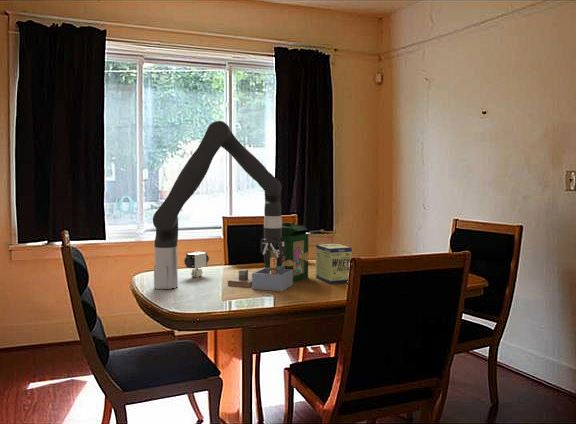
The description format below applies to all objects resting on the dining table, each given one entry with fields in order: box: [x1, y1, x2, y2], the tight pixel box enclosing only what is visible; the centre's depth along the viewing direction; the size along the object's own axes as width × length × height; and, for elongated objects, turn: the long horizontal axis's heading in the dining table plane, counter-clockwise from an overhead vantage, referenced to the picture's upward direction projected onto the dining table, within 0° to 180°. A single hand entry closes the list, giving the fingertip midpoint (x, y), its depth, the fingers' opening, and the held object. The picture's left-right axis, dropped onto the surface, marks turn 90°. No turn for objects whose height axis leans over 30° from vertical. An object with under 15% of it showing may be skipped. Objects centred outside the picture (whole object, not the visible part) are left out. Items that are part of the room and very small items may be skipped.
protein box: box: [315, 243, 353, 285], centre depth 251 cm, size 10×16×16 cm
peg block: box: [270, 258, 281, 275], centre depth 237 cm, size 6×6×12 cm
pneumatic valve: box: [183, 250, 210, 278], centre depth 258 cm, size 6×12×12 cm, turn 146°
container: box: [264, 222, 309, 283], centre depth 254 cm, size 15×18×25 cm
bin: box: [251, 267, 294, 292], centre depth 237 cm, size 13×13×7 cm
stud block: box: [227, 269, 252, 288], centre depth 243 cm, size 10×10×6 cm
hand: (272, 264), depth 237 cm, fingers open, 8 cm apart
